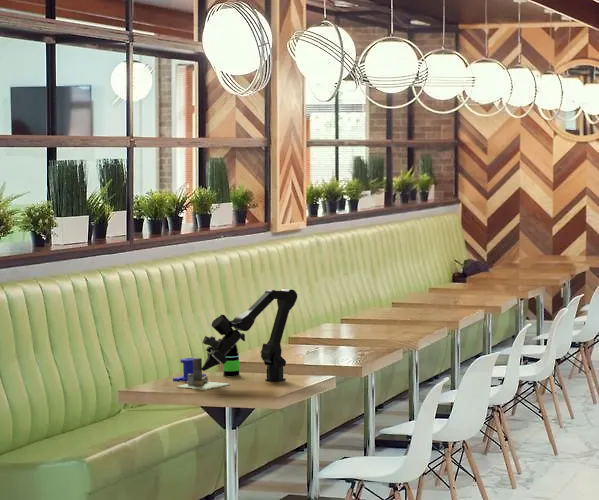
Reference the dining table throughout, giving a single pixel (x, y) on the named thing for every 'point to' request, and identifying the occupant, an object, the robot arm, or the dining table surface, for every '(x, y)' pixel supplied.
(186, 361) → the mount
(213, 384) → the plate
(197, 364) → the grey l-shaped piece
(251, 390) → the dining table surface
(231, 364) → the bottle
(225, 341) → the robot arm
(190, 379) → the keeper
